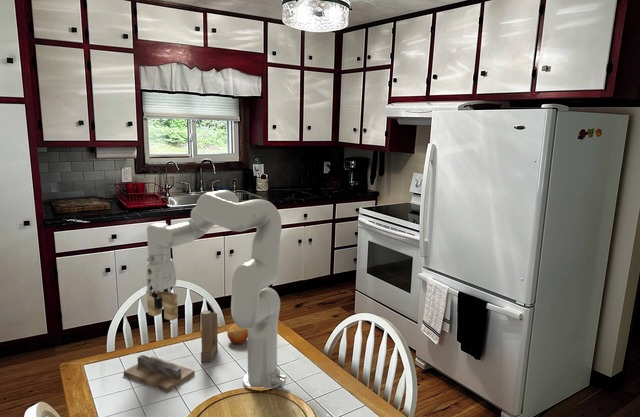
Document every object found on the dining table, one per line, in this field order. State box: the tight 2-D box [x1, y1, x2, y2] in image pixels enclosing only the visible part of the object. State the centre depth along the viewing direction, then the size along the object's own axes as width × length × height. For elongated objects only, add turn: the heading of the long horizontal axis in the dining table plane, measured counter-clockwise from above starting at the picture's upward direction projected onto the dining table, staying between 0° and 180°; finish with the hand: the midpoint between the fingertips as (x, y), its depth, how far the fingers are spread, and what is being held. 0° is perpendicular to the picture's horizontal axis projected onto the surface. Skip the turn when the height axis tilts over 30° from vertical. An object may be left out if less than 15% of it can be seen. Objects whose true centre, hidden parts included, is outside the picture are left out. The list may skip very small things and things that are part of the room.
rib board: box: [123, 354, 196, 393], centre depth 154 cm, size 20×12×4 cm, turn 62°
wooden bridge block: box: [146, 290, 179, 321], centre depth 168 cm, size 3×12×9 cm, turn 62°
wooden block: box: [200, 310, 219, 363], centre depth 167 cm, size 4×11×18 cm, turn 0°
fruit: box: [226, 323, 248, 345], centre depth 179 cm, size 8×8×8 cm
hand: (162, 306), depth 168 cm, fingers closed on wooden bridge block, 3 cm apart
